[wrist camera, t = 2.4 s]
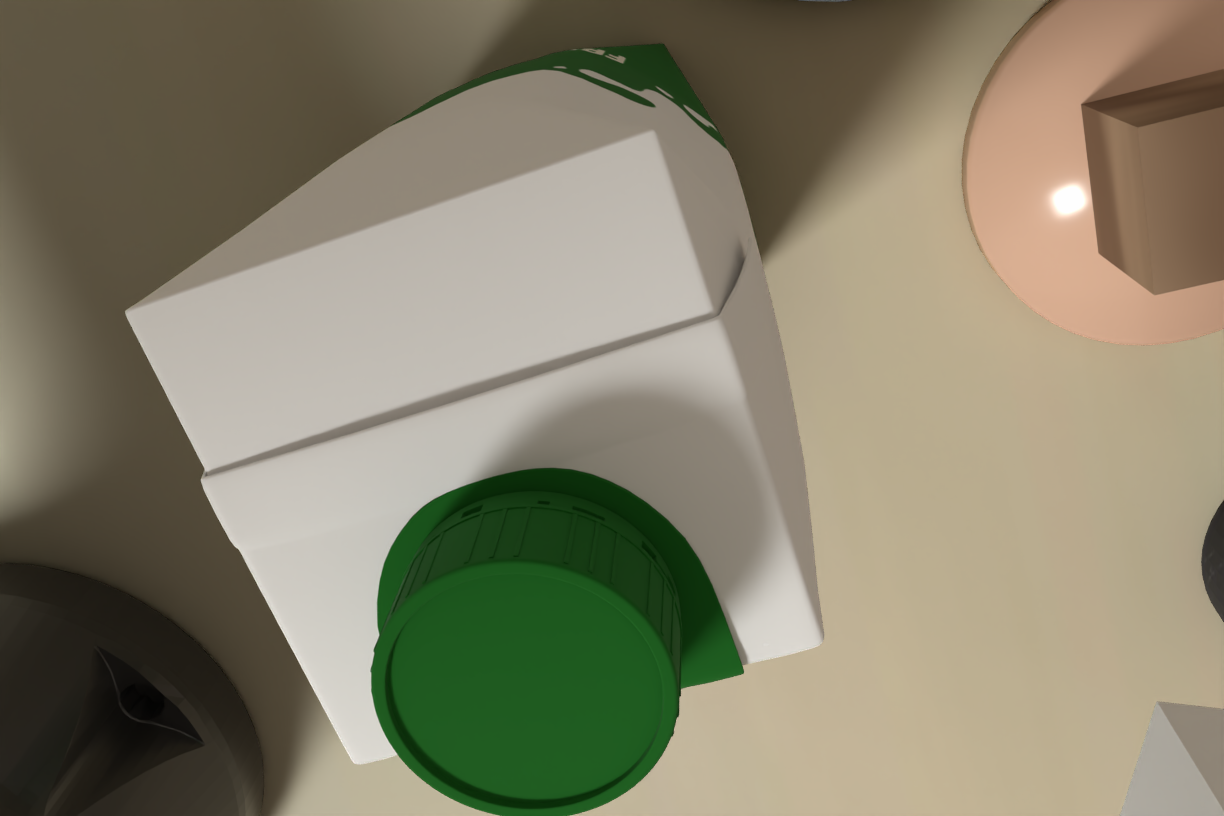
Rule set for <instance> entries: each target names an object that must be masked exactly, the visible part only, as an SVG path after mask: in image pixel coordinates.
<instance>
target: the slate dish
mask: <svg viewBox="0 0 1224 816" xmlns="http://www.w3.org/2000/svg"><path fill="white" fill-rule="evenodd" d="M799 1H826V2H841V1H850V0H799Z"/></svg>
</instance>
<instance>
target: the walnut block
mask: <svg viewBox="0 0 1224 816" xmlns="http://www.w3.org/2000/svg"><path fill="white" fill-rule="evenodd" d="M1081 109H1082V118H1083V126H1084V135H1085V143H1086V152H1087V160H1088V169H1089V177H1090V186H1091V194H1092V203H1093V212H1094V220H1095V229H1096V237H1097V246H1098V253H1099V254H1100V255H1101V256H1103V257H1104V258H1105V259H1107V260H1108V261H1109V262H1110V263H1112V264H1113V265H1114V266H1116V267H1117V268H1118V269H1120V270H1121V271H1122V272H1124V273H1125V274H1126V275H1128V276H1129V277H1130V278H1132V279H1133V280H1134V281H1136V282H1137V283H1138V284H1140V285H1141V286H1142V287H1144V288H1145V289H1146V290H1148V291H1149V292H1150V293H1152V294H1153V295H1154V296H1155V295H1159V294H1164V293H1168V292H1173V291H1177V290H1182V289H1186V288H1190V287H1195V286H1199V285H1204V284H1208V283H1213V282H1217V281H1222V280H1224V69H1221V70H1217V71H1213V72H1209V73H1205V74H1201V75H1197V76H1193V77H1189V78H1185V79H1181V80H1177V81H1173V82H1169V83H1165V84H1161V85H1157V86H1153V87H1149V88H1145V89H1141V90H1137V91H1133V92H1129V93H1125V94H1121V95H1117V96H1113V97H1109V98H1105V99H1101V100H1097V101H1093V102H1089V103H1085V104H1081Z"/></svg>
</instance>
